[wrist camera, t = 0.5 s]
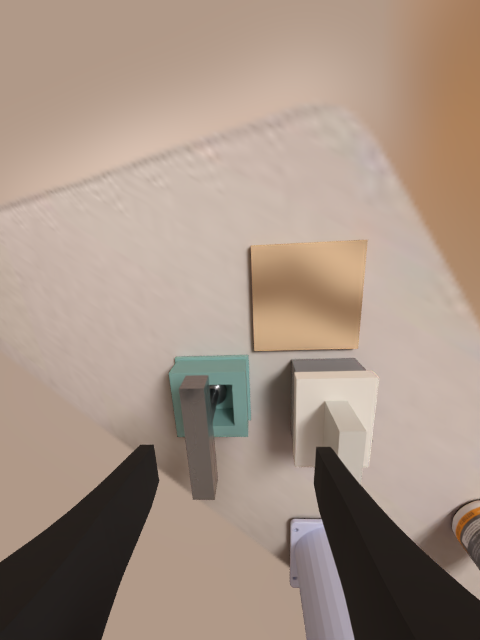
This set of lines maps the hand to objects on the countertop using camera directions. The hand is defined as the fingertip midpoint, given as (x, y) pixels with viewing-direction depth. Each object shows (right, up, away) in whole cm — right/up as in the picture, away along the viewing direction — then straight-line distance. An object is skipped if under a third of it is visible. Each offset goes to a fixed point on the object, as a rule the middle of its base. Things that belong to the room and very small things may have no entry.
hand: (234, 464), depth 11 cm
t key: (-2, 0, +10) cm, 10 cm away
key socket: (-2, +1, +10) cm, 10 cm away
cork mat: (+5, +8, +8) cm, 12 cm away
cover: (+7, -1, +8) cm, 10 cm away
